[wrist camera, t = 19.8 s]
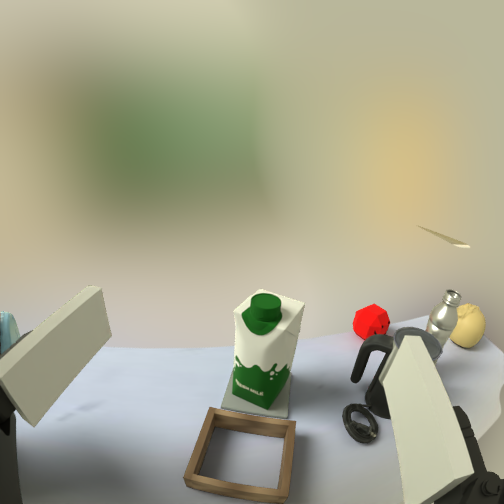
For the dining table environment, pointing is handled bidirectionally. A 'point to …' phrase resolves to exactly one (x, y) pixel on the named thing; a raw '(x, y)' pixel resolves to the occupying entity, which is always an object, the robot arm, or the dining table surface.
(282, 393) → the mat
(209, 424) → the holder
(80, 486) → the dining table surface
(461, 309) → the pale yellow rounded lump
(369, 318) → the ball
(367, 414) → the milk frother
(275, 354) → the soya milk
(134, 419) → the dining table surface
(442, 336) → the plastic bottle
